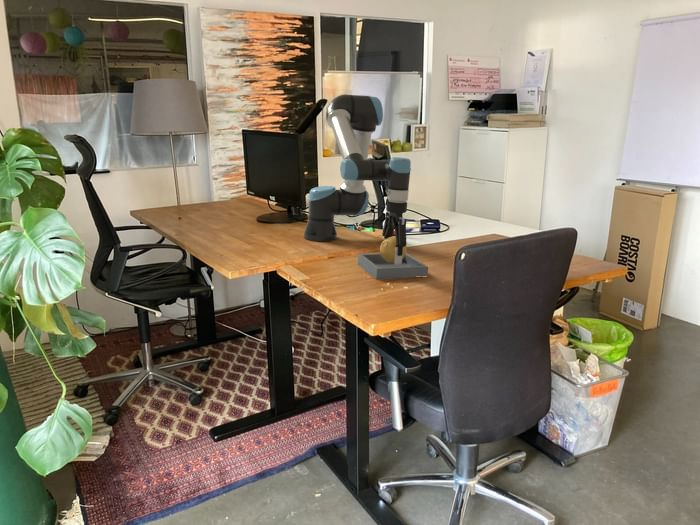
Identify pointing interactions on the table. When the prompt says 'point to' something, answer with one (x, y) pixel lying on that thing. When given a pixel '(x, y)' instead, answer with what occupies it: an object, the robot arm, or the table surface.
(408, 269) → the tray
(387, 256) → the stress ball
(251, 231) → the table surface
